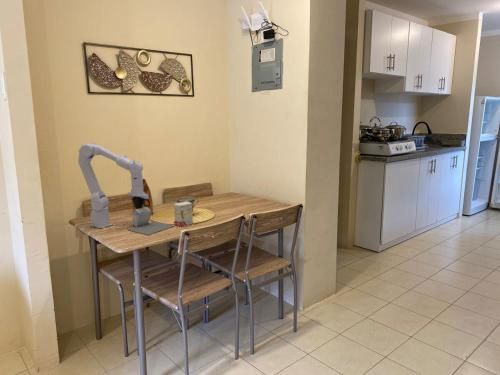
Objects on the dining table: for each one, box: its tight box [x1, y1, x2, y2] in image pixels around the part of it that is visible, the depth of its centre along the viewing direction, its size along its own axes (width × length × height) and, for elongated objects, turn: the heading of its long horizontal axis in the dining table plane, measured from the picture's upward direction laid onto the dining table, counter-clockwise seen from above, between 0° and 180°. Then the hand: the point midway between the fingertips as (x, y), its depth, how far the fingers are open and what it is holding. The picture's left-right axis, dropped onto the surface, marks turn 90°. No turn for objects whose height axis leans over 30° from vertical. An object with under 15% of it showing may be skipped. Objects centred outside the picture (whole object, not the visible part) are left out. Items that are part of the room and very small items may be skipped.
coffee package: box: [130, 178, 154, 216], centre depth 220 cm, size 10×12×22 cm
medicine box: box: [131, 207, 151, 227], centre depth 197 cm, size 8×4×9 cm, turn 141°
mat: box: [127, 220, 176, 236], centre depth 192 cm, size 16×18×1 cm
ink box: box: [173, 201, 194, 228], centre depth 197 cm, size 9×5×12 cm, turn 135°
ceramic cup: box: [176, 196, 200, 215], centre depth 217 cm, size 13×10×10 cm
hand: (139, 210), depth 198 cm, fingers closed
